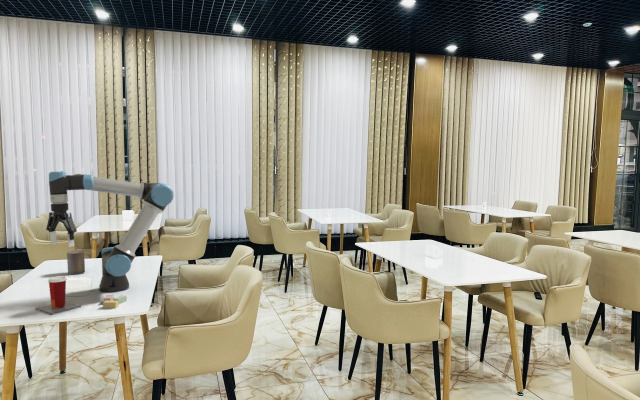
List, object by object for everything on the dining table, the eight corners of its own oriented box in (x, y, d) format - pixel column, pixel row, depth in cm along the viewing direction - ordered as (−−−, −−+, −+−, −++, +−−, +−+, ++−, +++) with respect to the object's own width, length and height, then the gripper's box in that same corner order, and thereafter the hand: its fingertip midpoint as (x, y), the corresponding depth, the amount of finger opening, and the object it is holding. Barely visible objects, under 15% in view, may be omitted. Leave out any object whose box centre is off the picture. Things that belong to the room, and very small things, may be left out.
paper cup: (70, 304, 228) (69, 275, 227) (62, 308, 220) (61, 279, 219) (54, 304, 228) (53, 275, 227) (45, 309, 220) (44, 279, 219)
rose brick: (107, 300, 237) (107, 295, 237) (113, 300, 237) (113, 294, 237) (103, 304, 231) (103, 298, 231) (110, 304, 232) (110, 298, 231)
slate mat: (64, 302, 234) (64, 300, 233) (81, 306, 226) (81, 305, 226) (35, 309, 222) (35, 308, 222) (51, 314, 214) (51, 313, 214)
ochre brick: (103, 308, 224) (102, 302, 224) (106, 306, 227) (105, 300, 227) (115, 308, 224) (115, 302, 224) (118, 306, 227) (118, 300, 227)
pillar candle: (88, 271, 300) (87, 248, 299) (79, 275, 290) (77, 251, 289) (74, 271, 301) (72, 248, 300) (64, 274, 291) (63, 250, 290)
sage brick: (121, 301, 237) (121, 295, 236) (126, 301, 236) (126, 295, 236) (113, 304, 231) (113, 298, 231) (118, 305, 230) (118, 299, 230)
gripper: (36, 202, 233) (39, 245, 235) (68, 204, 222) (71, 248, 224) (50, 201, 240) (53, 242, 242) (82, 202, 228) (85, 246, 230)
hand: (62, 245), depth 233 cm, fingers open, 13 cm apart
